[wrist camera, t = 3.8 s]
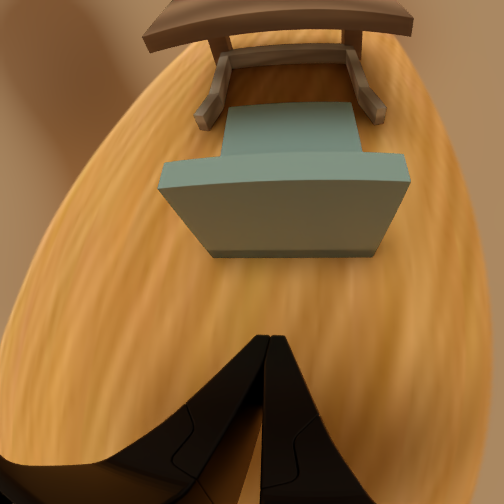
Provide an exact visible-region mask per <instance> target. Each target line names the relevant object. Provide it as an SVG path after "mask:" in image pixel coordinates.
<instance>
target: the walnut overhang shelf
mask: <svg viewBox="0 0 504 504" xmlns="http://www.w3.org/2000/svg"><path fill="white" fill-rule="evenodd" d="M413 19H414V18H413V17H412V16H411V15H410V14H409V13H408V12H407V11H406V10H405V9H404V7H403V6H402V5H401V4H400V3H399V2H397V1H396V0H172V1H171V2H170V4H169V5H168V6H167V7H166V8H165V9H164V10H163V12H162V13H161V14H160V15H159V16H158V18H157V19H156V20H155V21H154V22H153V24H152V25H151V26H150V27H149V29H148V30H147V31H146V32H145V34H144V35H143V36H142V38H143V40H144V42H145V44H146V46H147V48H148V50H149V52H150V53H153V52H156V51H160V50H164V49H167V48H171V47H175V46H179V45H184V44H188V43H193V42H197V41H202V40H208V42H209V45H210V48H211V51H212V54H213V57H214V60H215V63H216V66H217V67H216V70H215V74H214V77H213V81H212V84H211V88H210V92H209V95H208V96H207V97H206V99H205V100H204V101H203V103H202V104H201V105H200V107H199V108H198V109H197V111H196V112H195V114H194V118H195V120H196V122H197V124H198V126H199V129H200V130H206V131H209V130H210V129H211V127H212V126H213V124H214V122H215V121H216V119H217V118H218V116H219V115H220V113H221V112H222V110H223V108H224V105H225V100H226V95H227V90H228V85H229V80H230V76H231V71H232V69H236V68H245V67H254V66H265V65H279V64H301V63H341V64H346V66H347V69H348V72H349V75H350V78H351V82H352V85H353V88H354V92H355V95H356V99H357V102H358V104H359V105H360V107H361V108H362V109H363V111H364V112H365V113H366V114H367V116H368V117H369V119H370V120H371V121H372V123H373V124H374V125H377V124H382V123H384V118H385V114H386V109H387V107H386V106H385V105H384V103H383V102H382V101H381V100H380V99H379V97H378V96H377V95H376V94H375V93H374V92H373V90H372V89H371V88H370V87H369V84H368V82H367V79H366V76H365V74H364V71H363V68H362V66H361V63H360V61H359V60H361V50H362V31H370V32H380V33H389V34H396V35H403V36H409V37H411V33H412V27H413ZM297 29H339V30H342V44H334V43H305V44H281V45H268V46H257V47H247V48H239V49H233V48H232V45H231V41H230V37H229V36H231V35H239V34H246V33H255V32H265V31H278V30H297Z"/></svg>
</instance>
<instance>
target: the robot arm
mask: <svg viewBox="0 0 504 504" xmlns="http://www.w3.org/2000/svg"><path fill="white" fill-rule="evenodd" d="M319 415H320V414H319V412H318V409H317V407H316V405H315V403H314V400H313V398H312V396H311V394H310V391H309V389H308V387H307V385H306V382H305V380H304V378H303V375H302V373H301V371H300V369H299V366H298V364H297V362H296V360H295V357H294V355H293V353H292V350H291V348H290V346H289V344H288V341H287V339H286V337H285V336H283V335H272V336H271V337H270V336H269V335H256V336H255V337H254V338H253V339H252V340H251V341H250V342H249V343H248V344H247V345H246V346H245V347H244V348H243V349H242V350H241V351H240V352H239V353H238V354H237V355H236V356H235V357H234V358H233V359H231V360H230V361H229V362H228V363H227V364H226V365H225V366H224V367H223V368H222V369H221V370H220V371H219V372H218V373H217V374H216V375H215V376H214V377H213V378H212V379H211V380H210V381H209V382H208V383H206V384H205V385H204V386H203V387H202V388H201V389H200V390H199V391H198V392H197V393H196V394H195V395H194V396H193V397H191V398H190V399H189V400H188V401H187V402H186V404H184V405H182V406H181V407H180V408H179V409H178V410H177V411H176V412H175V413H173V414H172V415H171V416H170V417H169V418H167V419H166V420H165V421H164V422H163V423H161V424H160V425H159V426H157V427H156V428H154V429H153V430H152V431H150V432H149V433H147V434H146V435H144V436H143V437H141V438H140V439H138V440H137V441H135V442H134V443H132V444H131V445H129V446H128V447H126V448H124V449H123V450H121V451H120V452H118V453H116V454H115V455H113V456H111V457H109V458H107V459H105V460H103V461H100V462H96V463H92V464H81V465H62V466H28V465H20V464H15V463H12V462H10V461H8V460H6V459H5V458H3V457H2V456H1V455H0V504H237V503H238V500H239V497H240V493H241V490H242V487H243V484H244V481H245V478H246V474H247V471H248V468H249V465H250V461H251V458H252V455H253V451H254V448H255V445H256V441H257V438H258V434H259V431H260V427H261V423H262V451H261V481H260V489H261V491H260V504H376V503H375V502H374V501H373V500H372V499H371V497H370V496H369V495H368V494H367V492H366V491H365V490H364V488H363V487H362V485H361V484H360V482H359V481H358V480H357V478H356V477H355V475H354V474H353V472H352V471H351V469H350V468H349V466H348V465H347V463H346V462H345V460H344V459H343V457H342V456H341V454H340V453H339V451H338V449H337V448H336V446H335V444H334V443H333V441H332V439H331V437H330V435H329V433H328V431H327V429H326V427H325V425H324V423H323V420H322V418H321V416H319Z"/></svg>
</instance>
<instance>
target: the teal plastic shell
mask: <svg viewBox="0 0 504 504" xmlns="http://www.w3.org/2000/svg"><path fill="white" fill-rule="evenodd" d="M410 183H411V180H410V176H409V172H408V168H407V165H406V161H405V157H404V154H394V153H373V152H362V148H361V143H360V138H359V133H358V129H357V125H356V120H355V116H354V112H353V108H352V104H351V102H290V103H271V104H258V105H246V106H236V107H229V109H228V115H227V120H226V126H225V132H224V138H223V144H222V150H221V156H220V157H209V158H200V159H190V160H182V161H174V162H166V163H164V166H163V170H162V173H161V177H160V181H159V185H158V190H159V191H160V193H161V194H162V195H163V196H164V198H165V199H166V200H167V201H168V203H169V204H170V205H171V207H172V208H173V209H174V210H175V212H176V213H177V214H178V215H179V217H180V218H181V219H182V220H183V222H184V223H185V224H186V225H187V227H188V228H189V229H190V230H191V231H192V233H193V234H194V235H195V236H196V238H197V239H198V240H199V241H200V243H201V244H202V245H203V246H204V247H205V249H206V250H207V251H208V252H209V254H210V255H211V256H212V257H213V258H349V257H373V255H374V253H375V252H376V250H377V248H378V246H379V244H380V243H381V241H382V239H383V237H384V235H385V233H386V231H387V229H388V227H389V225H390V224H391V222H392V220H393V218H394V216H395V214H396V212H397V210H398V208H399V206H400V204H401V202H402V200H403V197H404V195H405V193H406V191H407V189H408V187H409V185H410Z"/></svg>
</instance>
